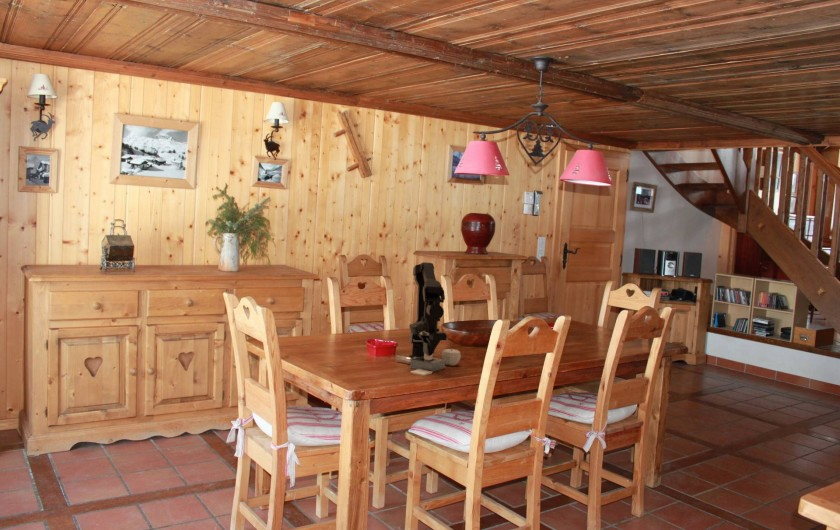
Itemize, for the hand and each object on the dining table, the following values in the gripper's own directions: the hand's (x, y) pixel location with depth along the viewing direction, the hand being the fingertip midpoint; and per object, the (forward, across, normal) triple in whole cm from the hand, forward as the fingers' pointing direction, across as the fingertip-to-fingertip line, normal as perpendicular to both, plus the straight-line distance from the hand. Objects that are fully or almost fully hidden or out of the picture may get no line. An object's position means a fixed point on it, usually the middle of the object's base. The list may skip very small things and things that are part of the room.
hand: (428, 353), depth 285 cm
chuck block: (+6, -4, -3) cm, 8 cm away
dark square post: (+5, 0, 0) cm, 5 cm away
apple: (+6, -4, +13) cm, 15 cm away
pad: (+6, +7, -6) cm, 11 cm away
